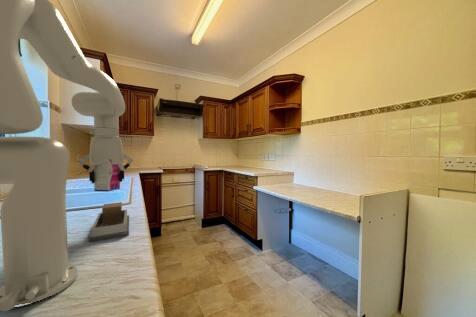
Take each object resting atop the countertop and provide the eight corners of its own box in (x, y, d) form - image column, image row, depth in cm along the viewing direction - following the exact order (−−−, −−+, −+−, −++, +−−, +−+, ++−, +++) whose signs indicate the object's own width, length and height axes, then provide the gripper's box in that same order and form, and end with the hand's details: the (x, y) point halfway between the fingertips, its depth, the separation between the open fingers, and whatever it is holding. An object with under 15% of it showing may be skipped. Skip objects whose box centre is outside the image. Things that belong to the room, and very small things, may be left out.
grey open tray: (128, 235, 68) (128, 213, 68) (88, 242, 63) (88, 218, 62) (129, 218, 84) (128, 201, 83) (97, 223, 79) (96, 204, 78)
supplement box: (108, 191, 70) (107, 158, 70) (93, 191, 71) (93, 159, 71) (120, 189, 75) (120, 158, 75) (107, 188, 77) (106, 158, 76)
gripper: (74, 131, 65) (75, 185, 66) (134, 134, 74) (134, 181, 74) (78, 133, 72) (79, 182, 72) (133, 135, 80) (134, 179, 81)
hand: (107, 181), depth 73 cm, fingers closed on supplement box, 8 cm apart
